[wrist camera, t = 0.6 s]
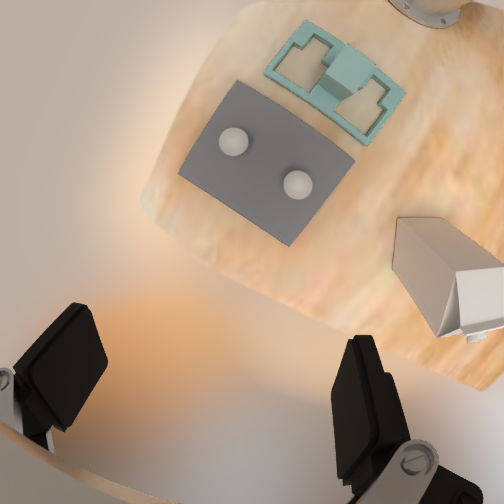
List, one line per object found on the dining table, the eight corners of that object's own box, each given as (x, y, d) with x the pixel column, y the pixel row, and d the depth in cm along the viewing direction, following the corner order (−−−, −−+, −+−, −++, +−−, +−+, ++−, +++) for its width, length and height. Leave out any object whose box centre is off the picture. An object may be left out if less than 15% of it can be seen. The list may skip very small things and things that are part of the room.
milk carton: (396, 217, 33) (479, 296, 15) (441, 217, 32) (532, 287, 14) (391, 268, 35) (452, 367, 18) (434, 265, 34) (505, 352, 17)
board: (238, 81, 28) (232, 75, 25) (353, 160, 31) (362, 163, 27) (180, 172, 33) (168, 177, 30) (288, 243, 35) (289, 256, 32)
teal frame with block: (304, 23, 24) (310, -2, 18) (401, 94, 26) (429, 87, 20) (264, 75, 28) (259, 59, 21) (364, 145, 30) (385, 149, 23)
